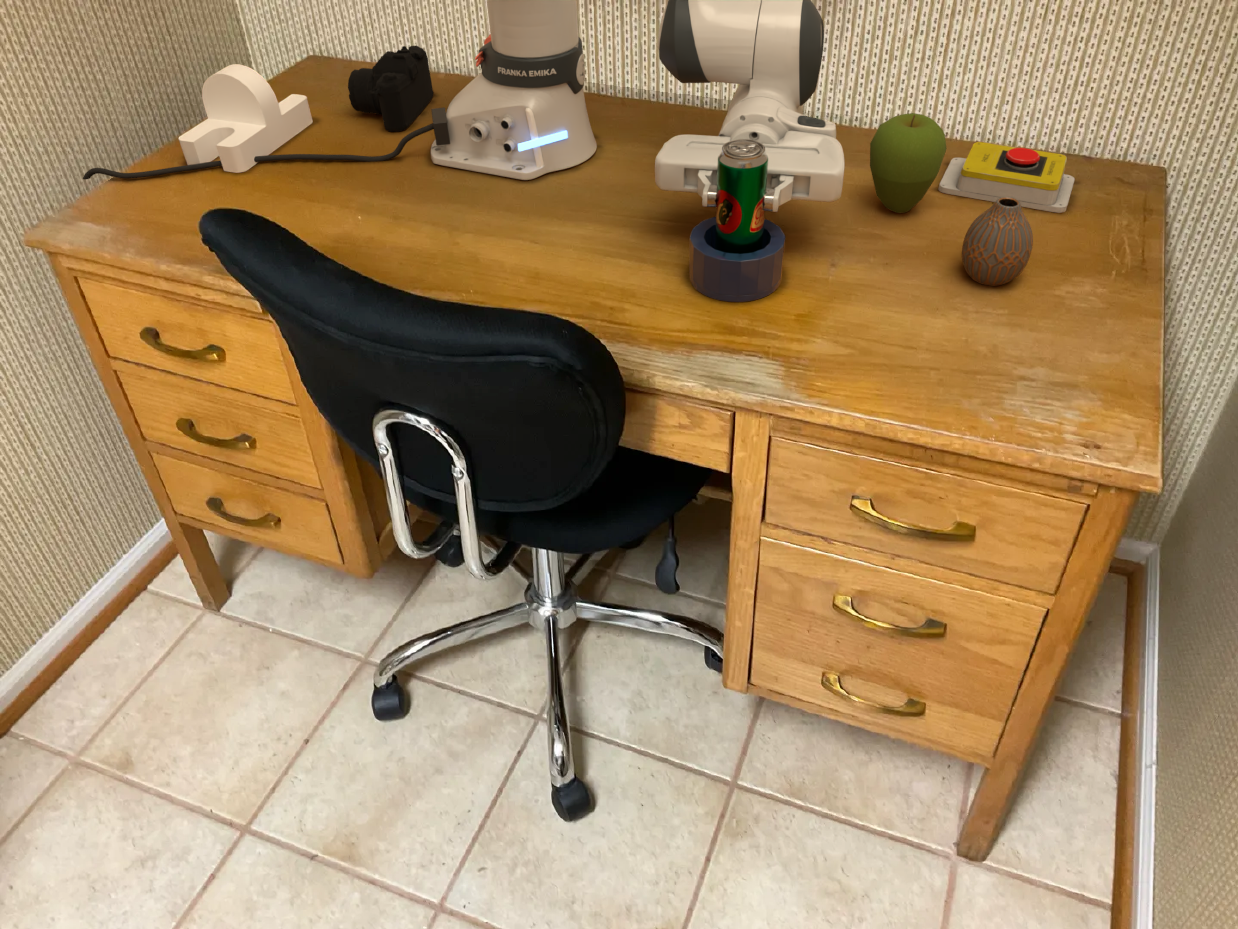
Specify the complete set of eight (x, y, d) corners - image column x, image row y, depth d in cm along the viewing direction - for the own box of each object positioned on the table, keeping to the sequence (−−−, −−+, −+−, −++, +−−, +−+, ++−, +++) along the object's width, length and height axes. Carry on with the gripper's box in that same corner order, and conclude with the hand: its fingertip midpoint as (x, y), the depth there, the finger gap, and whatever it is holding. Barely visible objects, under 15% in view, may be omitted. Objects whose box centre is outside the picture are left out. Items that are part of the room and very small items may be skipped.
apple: (871, 186, 122) (885, 95, 114) (940, 198, 119) (959, 105, 111) (853, 218, 116) (866, 123, 108) (924, 231, 113) (943, 135, 105)
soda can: (759, 267, 103) (766, 160, 95) (711, 264, 103) (715, 157, 95) (763, 243, 106) (771, 138, 98) (717, 240, 107) (721, 135, 99)
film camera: (381, 90, 150) (369, 30, 144) (441, 93, 148) (431, 32, 142) (342, 131, 139) (327, 68, 133) (405, 135, 137) (393, 70, 131)
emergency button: (1075, 179, 112) (943, 158, 117) (1064, 213, 115) (936, 191, 120) (1084, 146, 118) (958, 128, 123) (1074, 180, 121) (952, 161, 126)
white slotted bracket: (315, 120, 142) (298, 48, 136) (242, 173, 130) (219, 97, 123) (260, 113, 145) (240, 42, 138) (183, 165, 132) (157, 90, 126)
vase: (947, 262, 108) (963, 188, 102) (1008, 257, 108) (1028, 184, 102) (969, 295, 103) (987, 220, 97) (1033, 290, 103) (1055, 215, 97)
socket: (682, 297, 104) (682, 256, 101) (697, 250, 111) (698, 210, 108) (775, 306, 102) (779, 264, 99) (785, 258, 109) (789, 217, 106)
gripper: (665, 112, 110) (640, 167, 100) (850, 123, 106) (843, 180, 96) (666, 165, 114) (642, 222, 104) (843, 177, 110) (836, 237, 100)
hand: (740, 202), depth 100 cm, fingers closed on soda can, 5 cm apart
